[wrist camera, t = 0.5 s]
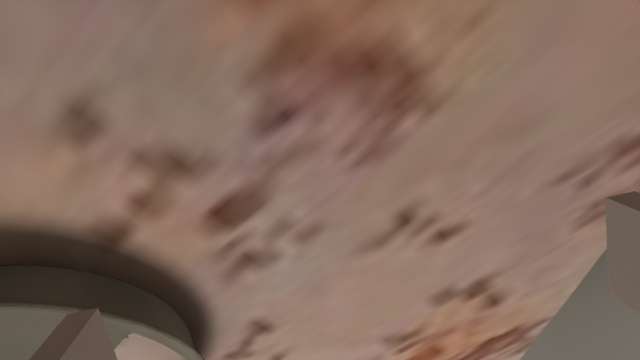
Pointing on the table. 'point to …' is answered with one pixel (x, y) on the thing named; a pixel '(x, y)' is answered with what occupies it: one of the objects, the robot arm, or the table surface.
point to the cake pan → (81, 309)
